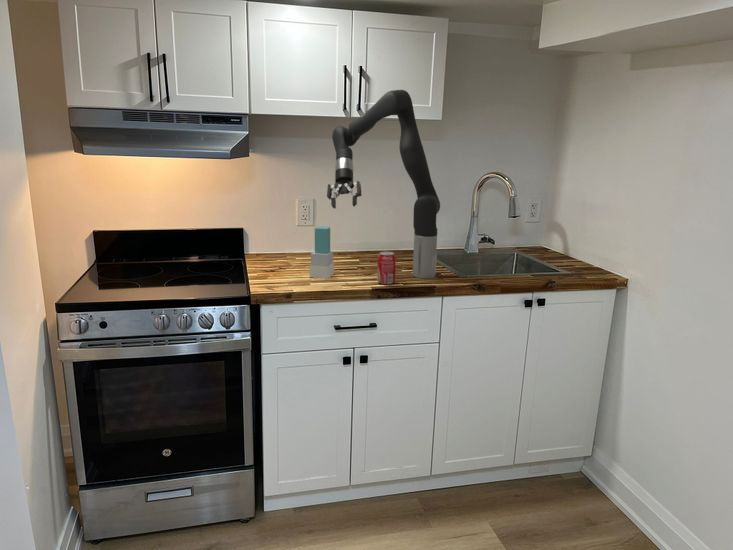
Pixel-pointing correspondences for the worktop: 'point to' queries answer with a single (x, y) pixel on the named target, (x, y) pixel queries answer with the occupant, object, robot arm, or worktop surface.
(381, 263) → the soda can
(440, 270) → the worktop surface
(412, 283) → the worktop surface
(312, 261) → the tower top
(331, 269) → the tower base
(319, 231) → the pillar
